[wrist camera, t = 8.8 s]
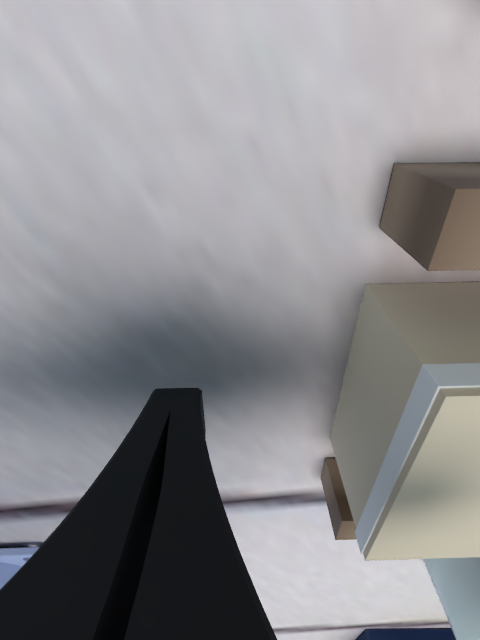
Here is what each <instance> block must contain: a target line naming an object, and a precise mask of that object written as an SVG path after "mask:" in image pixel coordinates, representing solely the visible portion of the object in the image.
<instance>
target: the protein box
mask: <svg viewBox="0 0 480 640" xmlns="http://www.w3.org/2000/svg"><path fill="white" fill-rule="evenodd" d="M357 640H456V638H455V636H454V633H453V631H452V629H367V630H365V632H364V633H363V634H362V635H361V636H360V637H359V638H358V639H357Z"/></svg>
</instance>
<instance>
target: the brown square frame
mask: <svg viewBox="0 0 480 640" xmlns="http://www.w3.org/2000/svg"><path fill="white" fill-rule="evenodd" d="M379 228H380V229H381V230H382V231H383V232H385V233H386V234H387V235H388V236H389V237H390V238H391V239H392V240H394V241H395V242H396V243H397V244H398V245H399V246H400V247H402V248H403V249H404V250H405V251H406V252H407V253H408V254H409V255H411V256H412V257H413V258H414V259H415V260H416V261H417V262H418V263H420V264H421V265H422V266H423V267H424V268H425V269H426V270H427V271H447V270H480V162H475V163H402V164H394V167H393V171H392V176H391V180H390V184H389V189H388V193H387V197H386V201H385V206H384V210H383V214H382V219H381V223H380V227H379ZM321 481H322V485H323V489H324V493H325V498H326V502H327V506H328V510H329V514H330V519H331V523H332V527H333V531H334V536H335V540H347V539H357V538H356V534H355V530H356V527H355V524H354V520H353V517H352V513H351V510H350V506H349V503H348V499H347V496H346V493H345V489H344V486H343V482H342V479H341V475H340V472H339V468H338V465H337V461H336V458H331V459H325V463H324V467H323V471H322V476H321Z"/></svg>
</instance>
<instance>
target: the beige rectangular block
mask: <svg viewBox="0 0 480 640" xmlns="http://www.w3.org/2000/svg"><path fill="white" fill-rule="evenodd" d="M330 441H331V444H332V448H333V451H334V455H335V458H336V461H337V465H338V468H339V472H340V475H341V479H342V482H343V486H344V489H345V493H346V496H347V499H348V503H349V506H350V510H351V513H352V517H353V520H354V524H355V527H356V530H355V534H356V538H357V541H358V545H359V548H360V552H361V554H363V555H364V558H365V561H369V560H401V559H434V558H467V557H480V282H435V283H382V284H365V287H364V292H363V296H362V300H361V305H360V309H359V313H358V317H357V322H356V326H355V330H354V335H353V339H352V343H351V348H350V352H349V356H348V361H347V365H346V369H345V373H344V378H343V382H342V386H341V391H340V395H339V399H338V404H337V408H336V412H335V417H334V421H333V425H332V430H331V434H330Z"/></svg>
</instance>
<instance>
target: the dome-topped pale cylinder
mask: <svg viewBox="0 0 480 640" xmlns="http://www.w3.org/2000/svg"><path fill="white" fill-rule="evenodd" d="M423 561H424V563H425V566H426V568H427V571H428V573H429V575H430V578H431V580H432V583H433V585H434V587H435V590H436V592H437V595H438V597H439V599H440V602H441V604H442V607H443V609H444V611H445V614H446V616H447V619H448V621H449V624H450V626H451V628H452V631H453V633H454V636H455V638H456V640H480V557H467V558H434V559H423Z"/></svg>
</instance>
